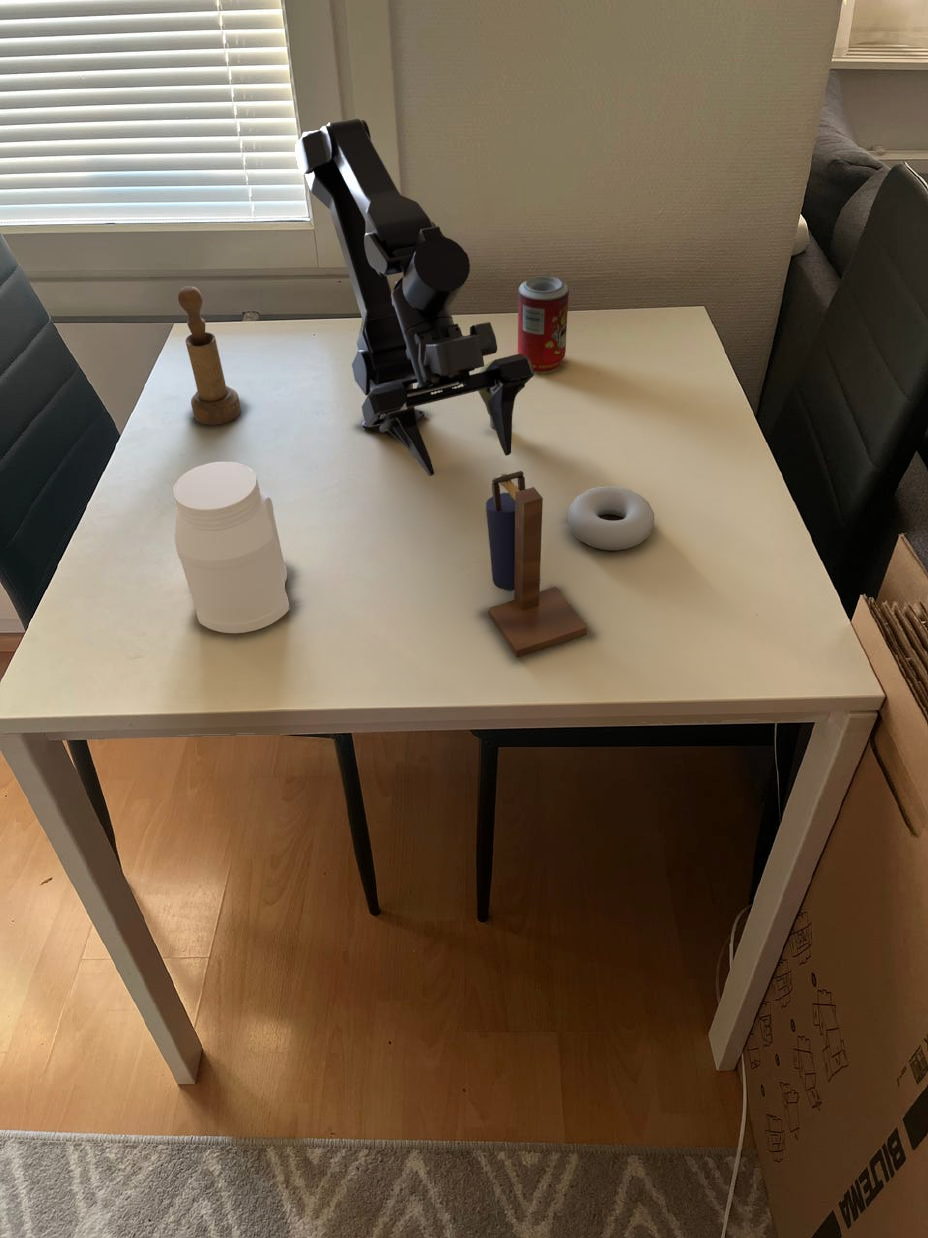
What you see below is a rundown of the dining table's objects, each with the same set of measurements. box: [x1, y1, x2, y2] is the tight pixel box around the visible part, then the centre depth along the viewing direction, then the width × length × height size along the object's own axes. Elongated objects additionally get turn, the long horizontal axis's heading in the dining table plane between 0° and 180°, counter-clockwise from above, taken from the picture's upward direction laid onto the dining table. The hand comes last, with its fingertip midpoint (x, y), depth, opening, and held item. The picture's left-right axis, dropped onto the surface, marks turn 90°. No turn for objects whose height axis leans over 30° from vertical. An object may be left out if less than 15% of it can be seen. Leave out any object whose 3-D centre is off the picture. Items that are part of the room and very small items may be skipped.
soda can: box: [517, 275, 570, 374], centre depth 133 cm, size 7×7×12 cm
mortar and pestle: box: [177, 285, 242, 426], centre depth 123 cm, size 7×6×18 cm
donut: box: [567, 485, 655, 551], centre depth 107 cm, size 10×4×10 cm
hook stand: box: [488, 473, 588, 658], centre depth 93 cm, size 12×8×15 cm, turn 23°
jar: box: [172, 461, 290, 634], centre depth 96 cm, size 12×10×15 cm
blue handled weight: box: [485, 470, 526, 592], centre depth 96 cm, size 4×4×13 cm
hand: (470, 464), depth 101 cm, fingers open, 9 cm apart
